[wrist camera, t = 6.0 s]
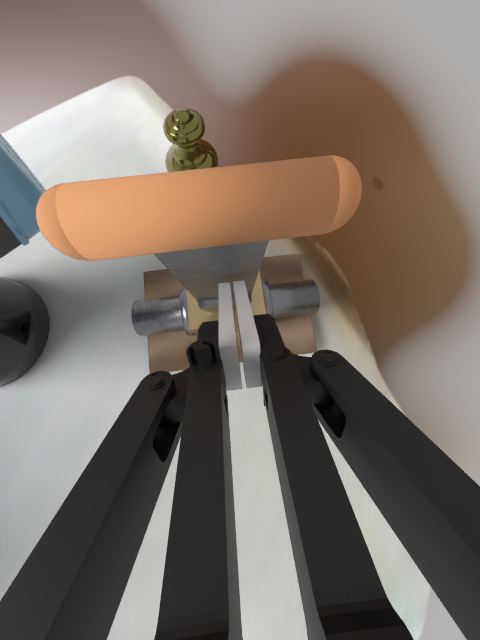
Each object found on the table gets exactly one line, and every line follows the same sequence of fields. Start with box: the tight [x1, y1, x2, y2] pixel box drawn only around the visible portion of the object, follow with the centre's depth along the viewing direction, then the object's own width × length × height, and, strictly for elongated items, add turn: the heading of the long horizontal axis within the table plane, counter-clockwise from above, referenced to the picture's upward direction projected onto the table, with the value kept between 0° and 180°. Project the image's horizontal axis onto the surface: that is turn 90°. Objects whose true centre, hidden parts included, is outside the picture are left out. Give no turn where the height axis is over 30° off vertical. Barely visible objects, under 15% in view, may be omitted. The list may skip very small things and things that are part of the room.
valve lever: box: [36, 156, 362, 310], centre depth 15 cm, size 3×12×16 cm, turn 97°
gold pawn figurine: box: [163, 108, 219, 172], centre depth 31 cm, size 7×7×10 cm
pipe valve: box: [132, 254, 320, 374], centre depth 28 cm, size 14×22×8 cm, turn 97°
